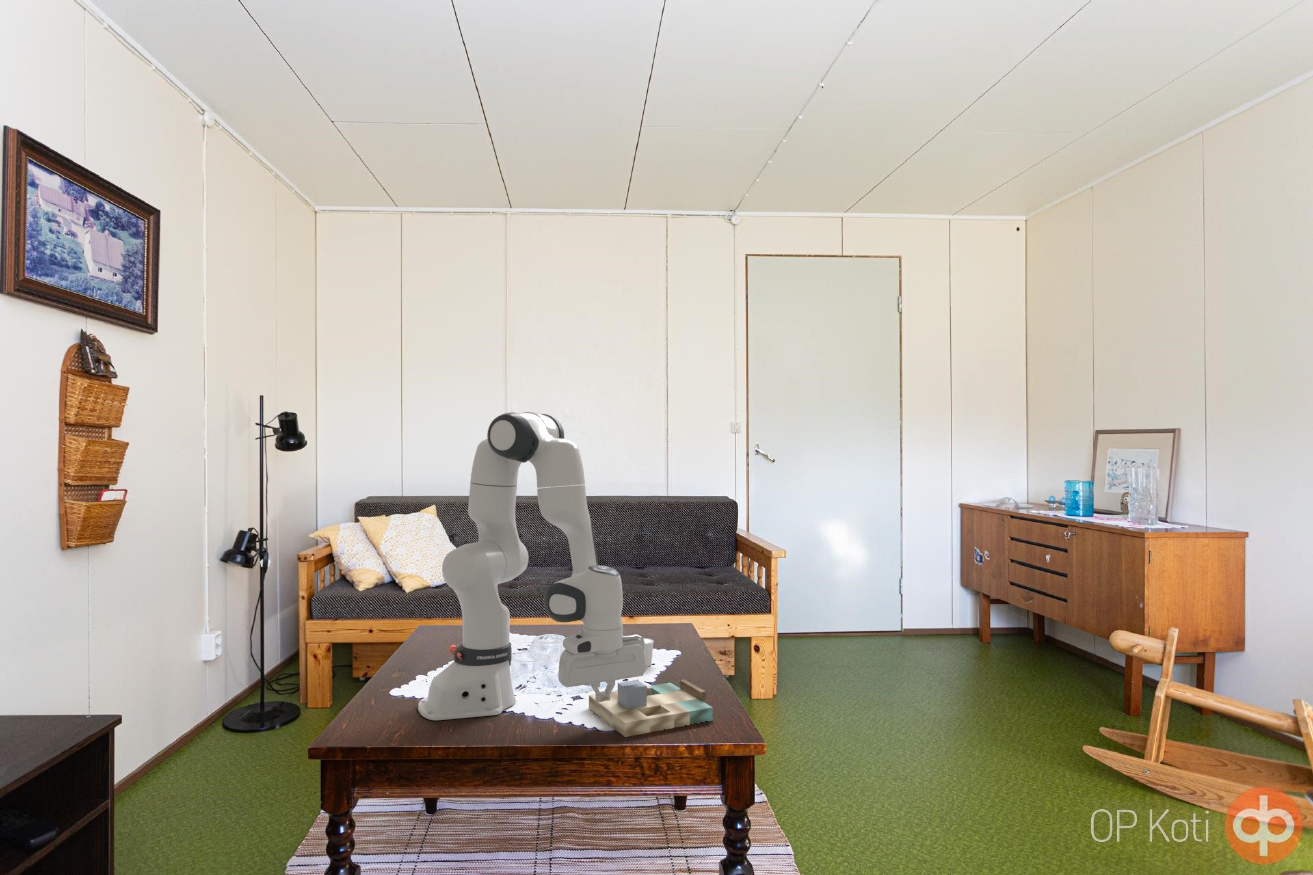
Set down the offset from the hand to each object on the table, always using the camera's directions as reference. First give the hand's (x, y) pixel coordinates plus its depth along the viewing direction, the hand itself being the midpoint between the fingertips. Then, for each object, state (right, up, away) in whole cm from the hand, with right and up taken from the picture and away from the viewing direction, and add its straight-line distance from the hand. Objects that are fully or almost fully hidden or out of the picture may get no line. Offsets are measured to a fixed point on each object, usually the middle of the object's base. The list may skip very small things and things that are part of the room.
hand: (602, 700), depth 170 cm
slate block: (+6, -2, +4) cm, 8 cm away
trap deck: (+10, -5, +6) cm, 13 cm away
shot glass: (+8, -6, +45) cm, 46 cm away
